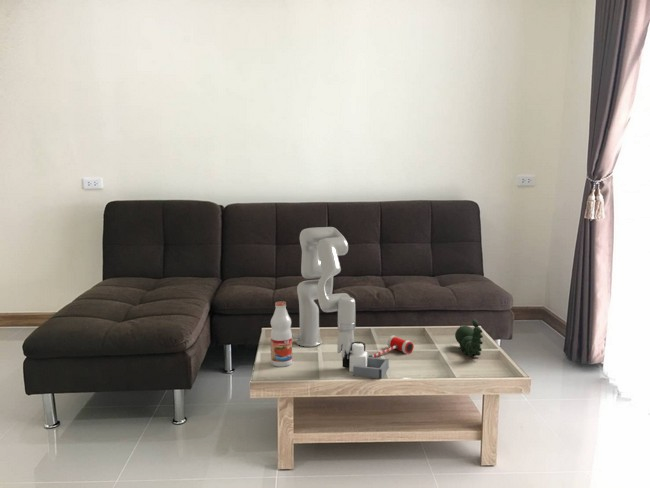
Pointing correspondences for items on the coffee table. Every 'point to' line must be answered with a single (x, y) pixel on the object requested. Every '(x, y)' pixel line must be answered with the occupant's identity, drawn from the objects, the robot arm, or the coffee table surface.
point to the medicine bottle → (357, 355)
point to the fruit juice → (281, 336)
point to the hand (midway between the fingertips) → (346, 366)
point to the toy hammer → (397, 346)
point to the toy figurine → (469, 339)
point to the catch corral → (368, 371)
